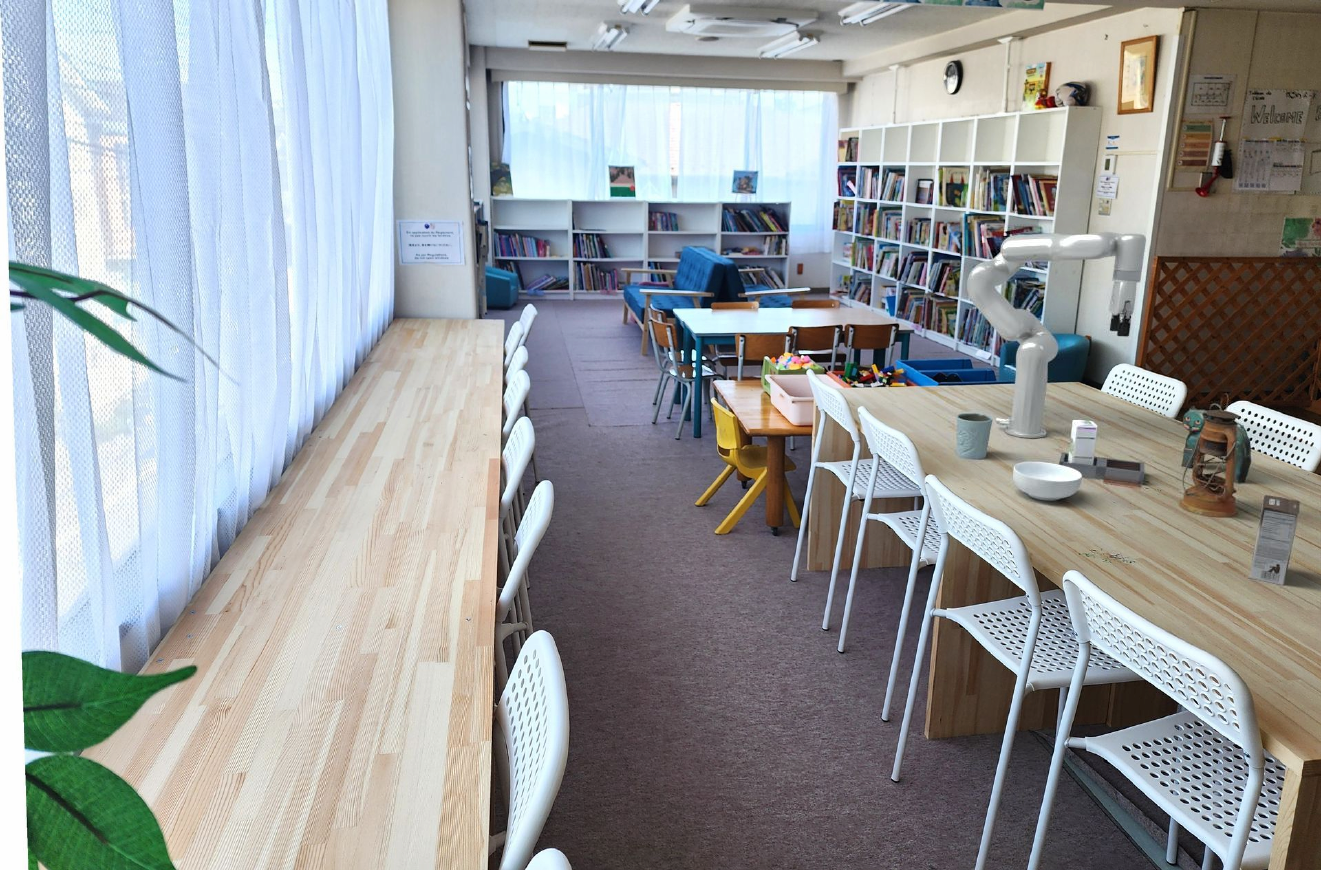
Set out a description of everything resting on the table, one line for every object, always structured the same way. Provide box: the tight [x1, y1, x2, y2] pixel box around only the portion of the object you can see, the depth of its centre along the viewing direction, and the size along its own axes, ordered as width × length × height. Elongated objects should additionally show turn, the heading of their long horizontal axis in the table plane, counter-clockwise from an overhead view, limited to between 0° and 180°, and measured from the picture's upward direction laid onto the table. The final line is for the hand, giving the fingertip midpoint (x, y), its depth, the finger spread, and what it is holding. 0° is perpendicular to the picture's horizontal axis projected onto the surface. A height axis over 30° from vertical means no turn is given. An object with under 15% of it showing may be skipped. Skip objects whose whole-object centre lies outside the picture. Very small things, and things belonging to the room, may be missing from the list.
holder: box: [1058, 452, 1146, 489], centre depth 262 cm, size 22×14×4 cm, turn 64°
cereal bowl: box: [1012, 461, 1083, 502], centre depth 245 cm, size 17×17×7 cm
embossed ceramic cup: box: [955, 412, 993, 460], centre depth 279 cm, size 10×10×12 cm
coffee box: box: [1249, 494, 1301, 586], centre depth 196 cm, size 9×6×16 cm
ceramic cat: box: [1181, 403, 1252, 484], centre depth 263 cm, size 20×6×20 cm, turn 22°
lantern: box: [1178, 393, 1240, 518], centre depth 233 cm, size 17×13×30 cm
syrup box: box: [1068, 419, 1098, 465], centre depth 264 cm, size 6×6×14 cm
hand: (1119, 333), depth 281 cm, fingers open, 9 cm apart
